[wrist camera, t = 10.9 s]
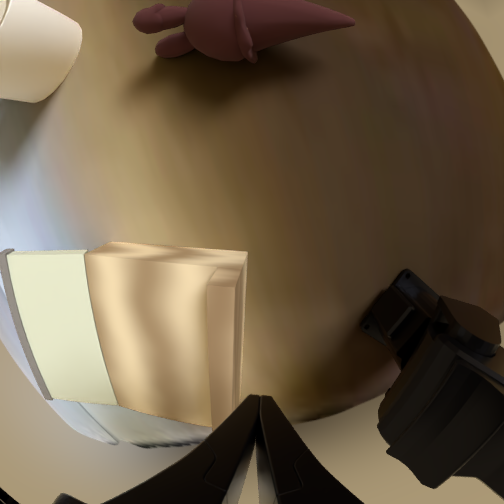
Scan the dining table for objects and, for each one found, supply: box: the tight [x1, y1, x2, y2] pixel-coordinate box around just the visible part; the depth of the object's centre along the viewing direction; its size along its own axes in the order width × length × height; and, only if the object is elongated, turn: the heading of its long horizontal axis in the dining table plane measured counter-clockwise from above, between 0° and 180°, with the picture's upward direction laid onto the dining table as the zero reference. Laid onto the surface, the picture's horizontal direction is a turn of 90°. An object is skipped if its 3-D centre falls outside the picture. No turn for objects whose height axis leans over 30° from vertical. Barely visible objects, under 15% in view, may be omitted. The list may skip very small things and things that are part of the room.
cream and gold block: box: [84, 242, 248, 432], centre depth 21 cm, size 12×16×7 cm
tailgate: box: [0, 249, 118, 405], centre depth 20 cm, size 2×16×9 cm
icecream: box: [132, 0, 355, 64], centre depth 14 cm, size 7×7×15 cm
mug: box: [0, 0, 82, 103], centre depth 13 cm, size 14×10×11 cm
